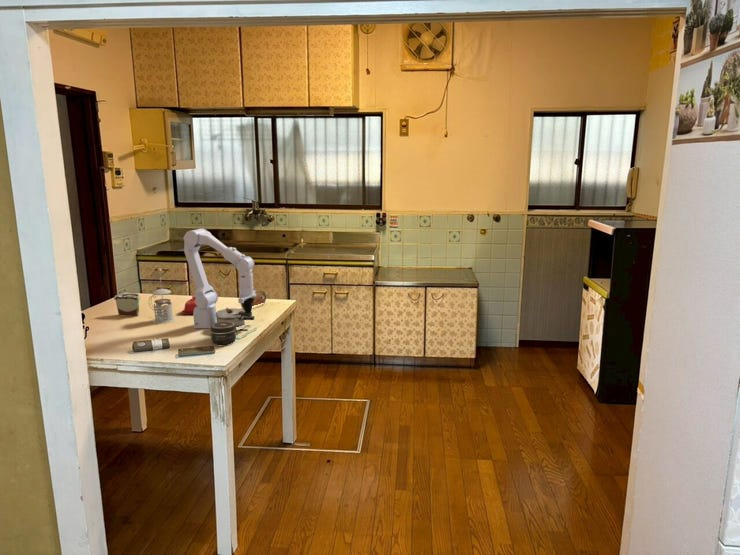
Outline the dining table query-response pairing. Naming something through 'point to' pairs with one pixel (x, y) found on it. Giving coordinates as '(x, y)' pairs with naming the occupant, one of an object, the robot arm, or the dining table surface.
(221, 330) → the jar
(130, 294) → the food container
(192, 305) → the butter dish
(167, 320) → the french press
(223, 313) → the cooker lid
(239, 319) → the cooker pot
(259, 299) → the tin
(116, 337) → the dining table surface
